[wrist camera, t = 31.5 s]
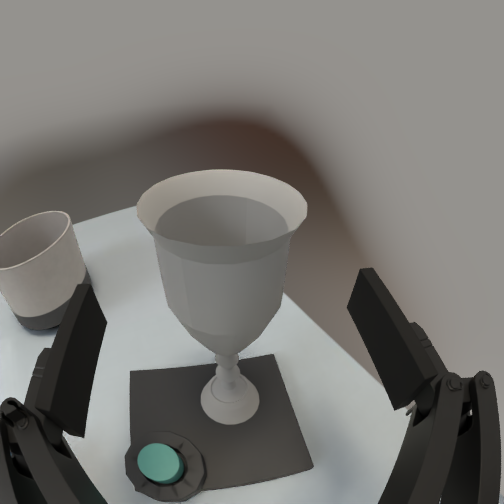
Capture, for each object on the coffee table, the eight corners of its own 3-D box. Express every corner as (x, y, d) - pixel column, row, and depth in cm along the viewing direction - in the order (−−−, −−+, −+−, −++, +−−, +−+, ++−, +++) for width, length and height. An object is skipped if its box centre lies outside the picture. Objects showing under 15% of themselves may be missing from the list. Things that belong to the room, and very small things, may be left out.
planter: (58, 264, 37) (38, 207, 31) (111, 285, 34) (90, 216, 28) (7, 315, 26) (-26, 255, 20) (53, 352, 24) (10, 283, 18)
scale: (272, 360, 26) (275, 342, 24) (314, 478, 16) (323, 473, 14) (133, 376, 23) (124, 360, 22) (141, 502, 13) (127, 499, 11)
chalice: (177, 381, 22) (125, 186, 12) (243, 354, 25) (247, 162, 15) (214, 449, 17) (162, 273, 7) (286, 412, 20) (345, 217, 10)
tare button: (181, 447, 16) (176, 442, 15) (187, 482, 14) (182, 480, 13) (143, 449, 15) (135, 443, 14) (146, 483, 13) (139, 480, 12)
